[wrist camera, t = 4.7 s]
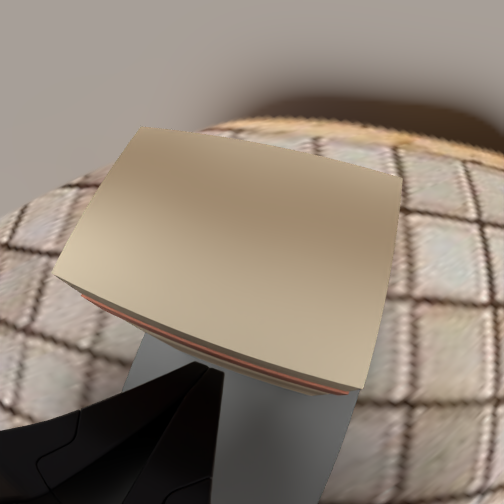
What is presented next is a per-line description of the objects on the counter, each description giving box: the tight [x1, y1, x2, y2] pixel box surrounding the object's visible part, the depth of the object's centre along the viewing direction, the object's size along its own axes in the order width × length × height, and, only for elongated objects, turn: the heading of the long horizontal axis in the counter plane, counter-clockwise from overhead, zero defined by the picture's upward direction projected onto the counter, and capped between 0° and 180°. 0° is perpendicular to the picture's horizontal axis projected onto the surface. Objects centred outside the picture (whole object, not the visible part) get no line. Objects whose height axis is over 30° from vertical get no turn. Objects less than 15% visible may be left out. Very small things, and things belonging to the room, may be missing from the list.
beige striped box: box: [52, 127, 403, 396], centre depth 10 cm, size 4×6×9 cm
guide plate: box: [121, 332, 360, 504], centre depth 13 cm, size 22×10×1 cm, turn 161°
